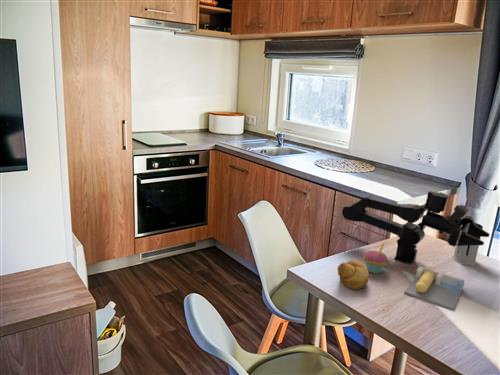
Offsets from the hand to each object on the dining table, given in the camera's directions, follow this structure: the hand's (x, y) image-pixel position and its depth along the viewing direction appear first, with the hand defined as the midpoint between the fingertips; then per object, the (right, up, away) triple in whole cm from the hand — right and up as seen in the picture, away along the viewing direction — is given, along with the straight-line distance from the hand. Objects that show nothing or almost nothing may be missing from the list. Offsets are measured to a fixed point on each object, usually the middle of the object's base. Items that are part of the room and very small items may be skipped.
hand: (486, 239), depth 145 cm
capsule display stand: (-20, -17, -4) cm, 26 cm away
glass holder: (+2, -12, +21) cm, 24 cm away
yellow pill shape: (-22, -15, -2) cm, 27 cm away
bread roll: (-46, -14, -2) cm, 48 cm away
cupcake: (-36, -12, +8) cm, 39 cm away
